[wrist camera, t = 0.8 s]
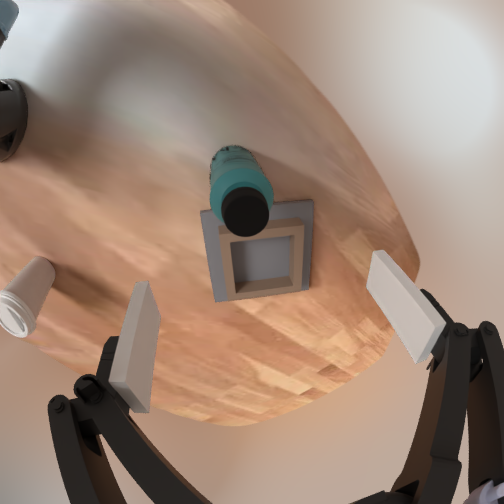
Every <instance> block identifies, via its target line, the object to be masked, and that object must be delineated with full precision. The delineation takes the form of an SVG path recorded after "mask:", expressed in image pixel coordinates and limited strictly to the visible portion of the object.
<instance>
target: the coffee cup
mask: <svg viewBox="0 0 504 504" xmlns="http://www.w3.org/2000/svg"><path fill="white" fill-rule="evenodd" d="M54 280H55V270H54V268H53V266H52V264H51V263H50V262H49V261H48V260H47V259H45V258H43V257H39V256H37V257H34V258H33V259H32V260H31V261H30V262H29V263H28V264H27V265H26V266H25V267H24V268H23V269H22V270H21V271H20V272H19V273H18V274H17V275H16V276H15V277H14V279H13V280H12V281H11V282H10V283H9V284H8V285H7V286H6V287H5V288H4V289H3V290H1V291H0V324H1V326H2V327H3V328H4V329H5V330H7V331H8V332H9V333H11V334H12V335H14V336H16V337H21V338H23V337H26V336H27V335H29V334H31V333H32V332H33V331H34V330H35V329H36V320H37V317H38V315H39V312H40V310H41V308H42V305H43V303H44V301H45V299H46V296H47V294H48V292H49V290H50V288H51V286H52V284H53V282H54Z"/></svg>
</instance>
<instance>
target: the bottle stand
mask: <svg viewBox="0 0 504 504" xmlns="http://www.w3.org/2000/svg"><path fill="white" fill-rule="evenodd" d="M313 211H314V201H313V200H300V201H288V202H277V203H273V204H272V207H271V210H270V211H269V220H268V223H267V225H266V227H265V228H264V229H263V230H262V231H261V232H260V233H258V234H256V235H254V236H251V237H240V236H237V235H235V234H233V233H232V232H230V231H229V230H228V229H227V227H226V225H225V223H223V222H221V221H220V220H219V219H218V218H217V217H216V216H215V214H214V213H213V211H212V209H211V210H203V211H200V215H201V222H202V228H203V235H204V241H205V247H206V253H207V259H208V265H209V271H210V277H211V282H212V288H213V293H214V299H215V302H222V301H234V300H242V299H250V298H257V297H265V296H272V295H279V294H286V293H292V292H299V291H302V290H309V278H310V265H311V250H312V232H313Z"/></svg>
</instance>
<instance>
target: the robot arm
mask: <svg viewBox="0 0 504 504" xmlns="http://www.w3.org/2000/svg"><path fill="white" fill-rule="evenodd" d="M18 13H19V8H18V6H17V4H16V3H15V2H14V1H12V0H0V49H1V47H2V45H3V43H4V41H5V40H7V38H8V33H9V31H10V29H11V28H12V26H13V24H14V22H15V20H16V18H17V16H18ZM26 123H27V101H26V97H25V94H24V91H23V89H22V88H21V86H20V85H19V84H18V83H17V82H16V81H14V80H11V79H1V80H0V162H1V161H3V160H5V159H7V158H9V157H10V156H11V155H12V154H13V153H14V152H15V151H16V149H17V148H18V146H19V145H20V143H21V141H22V138H23V135H24V132H25V129H26ZM366 288H367V289H368V291H369V292H370V294H371V295H372V297H373V298H374V299H375V301H376V302H377V304H378V305H379V307H380V308H381V310H382V311H383V313H384V314H385V316H386V317H387V319H388V320H389V322H390V323H391V325H392V327H393V328H394V330H395V331H396V333H397V334H398V336H399V337H400V339H401V341H402V342H403V344H404V345H405V347H406V349H407V350H408V352H409V354H410V355H411V357H412V359H413V360H414V362H415V363H416V364H417V363H419V362H422V361H424V360H426V359H427V358H428V356H429V354H430V353H432V354H433V356H434V357H433V359H432V360H431V362H430V363H429V365H428V367H427V370H428V369H429V368H430V373H429V378H428V384H427V389H426V393H425V398H424V402H423V407H422V411H421V414H420V418H419V422H418V426H417V429H416V432H415V436H414V439H413V442H412V445H411V448H410V451H409V454H408V458H407V460H406V463H405V465H404V468H403V471H402V473H401V474H400V475H399V477H398V478H397V479H396V481H395V483H394V485H393V487H392V489H391V491H390V492H385V491H381V492H379V493H376V494H373V495H371V496H368V497H366V498H363V499H360V500H358V501H355V502H353V503H350V504H451V501H452V499H453V496H454V493H455V490H456V486H457V483H458V479H459V476H460V472H461V468H462V464H461V462H460V461H459V460H458V454H459V450H460V445H461V440H462V435H463V430H464V423H465V417H466V410H467V416H468V434H469V469H468V485H469V494H470V495H469V497H468V499H466V500H465V502H464V503H463V504H504V349H503V345H502V342H501V339H500V336H499V333H498V330H497V328H496V326H495V325H494V324H492V323H491V322H488V321H483V322H482V323H481V324H480V325H479V328H478V329H477V328H476V329H468V328H467V327H466V326H465V325H464V324H462V323H454V322H453V320H452V319H451V318H450V317H449V315H448V314H447V313H446V312H445V310H444V309H443V308H442V307H441V306H440V304H439V303H438V302H437V301H436V299H435V298H434V297H433V296H432V295H431V294H430V293H429V292H427V291H426V290H424V289H420V290H419V289H418V288H417V286H416V285H415V284H414V283H413V282H412V281H411V279H410V278H409V277H408V276H407V275H406V274H405V273H404V271H403V270H402V269H401V268H400V267H399V266H398V265H397V264H396V263H395V262H394V260H393V259H392V258H391V257H390V256H389V255H388V254H387V253H386V252H385V251H384V250H377V251H373V254H372V260H371V265H370V270H369V275H368V280H367V285H366ZM160 320H161V315H160V312H159V310H158V307H157V304H156V302H155V299H154V296H153V293H152V290H151V287H150V284H149V281H142V282H136V283H135V286H134V289H133V292H132V296H131V299H130V302H129V305H128V309H127V312H126V315H125V319H124V322H123V326H122V329H121V333H120V336H110V338H109V339H108V340H107V342H106V343H105V344H104V348H103V351H102V355H101V358H100V360H101V361H100V362H99V366H98V369H97V373H96V376H95V375H92V374H85V375H83V376H81V377H80V378H79V379H78V380H77V381H76V383H75V384H74V393H75V395H76V396H77V397H78V398H75V399H71V400H69V399H68V398H67V397H65V396H64V395H56V396H54V397H53V398H52V399H51V400H50V401H49V404H48V416H49V422H50V428H51V433H52V439H53V443H54V448H55V452H56V457H57V461H58V464H59V468H60V472H61V476H62V479H63V482H64V485H65V489H66V491H67V495H68V497H69V500H70V503H71V504H127V503H126V501H125V499H124V497H123V494H122V492H121V490H120V488H119V486H118V484H117V481H116V479H115V477H114V474H113V472H112V470H111V467H110V464H109V462H108V459H107V456H106V454H105V451H104V448H103V445H102V442H101V439H100V436H99V434H102V435H103V437H104V438H105V440H106V441H107V443H108V444H109V446H110V447H111V449H112V450H113V452H114V453H115V455H116V456H117V457H118V459H119V460H120V462H121V463H122V464H123V466H124V467H125V468H126V470H127V471H128V472H129V474H130V475H131V476H132V477H133V479H134V480H135V481H136V482H137V484H138V485H139V486H140V487H141V488H142V489H143V491H144V492H145V493H146V494H147V496H148V497H149V498H150V499H151V500H152V501H153V502H154V503H155V504H212V503H211V502H210V501H209V500H207V499H206V498H205V497H204V496H203V495H202V494H201V493H199V491H197V490H196V489H195V488H194V487H193V486H192V485H191V484H190V483H189V482H188V481H187V480H186V479H185V478H184V477H183V476H182V475H181V474H180V473H179V472H178V471H177V470H176V469H175V468H174V467H173V466H172V465H171V464H170V463H169V462H168V461H167V460H166V459H165V458H164V456H163V455H162V454H161V453H160V452H159V451H158V450H157V448H156V447H155V446H154V445H153V444H152V443H151V441H150V440H149V439H148V438H147V437H146V436H145V434H144V433H143V432H142V431H141V429H140V428H139V427H138V426H137V424H136V423H135V422H134V420H133V419H132V418H131V416H130V415H129V408H131V409H132V411H133V412H134V413H149V409H150V398H151V388H152V379H153V370H154V362H155V354H156V347H157V340H158V333H159V326H160ZM482 359H483V363H482ZM430 366H431V367H430Z"/></svg>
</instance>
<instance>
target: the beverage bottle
mask: <svg viewBox="0 0 504 504" xmlns="http://www.w3.org/2000/svg"><path fill="white" fill-rule="evenodd" d="M246 149H247V148H246ZM246 149H245V148H243V146H241V147H240V146H236V145H235V146H232V145H231V146H226V147H225V148H223V149H220V151H218V152H217V153H216V155H215V154H214V155H215V156H213V159H212V160H211V161H212V164H211V165H210V168H211V172H210V173H211V174H210V183H209V184H210V185H211V192H210V205H211V209H212V211H213V213H214V214H215V216H216V217H217V218H218V219H219V220H220V221H221V222H223V223H225V225H226V227H227V229H228V230H229V231H230V232H232V233H233V234H235V235H237V236H240V237H251V236H254V235H256V234H258V233H260V232H261V231H262V230H263V229H264V228H265V227H266V225H267V223H268V220H269V211H270V210H271V207H272V204H273V200H274V194H273V189H272V186H271V184H270V182H269V181H268V179H267V178H266V177H265V176H264V173H265V172H264V173H263V172H262V171H263V170H261V168H260V167H259V165H258V164H257V162H256V161H255V160H256V159H254V158H253V156H252V155H251V154H252V153H251V152H249V151H248V150H246Z"/></svg>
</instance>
